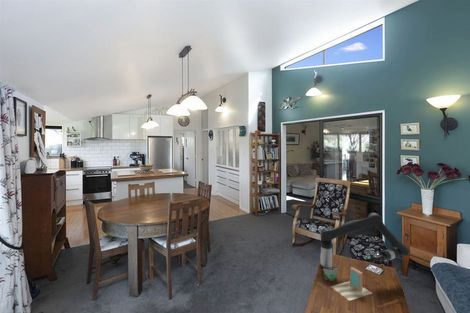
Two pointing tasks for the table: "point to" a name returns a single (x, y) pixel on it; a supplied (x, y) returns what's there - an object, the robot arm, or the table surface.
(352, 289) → the board
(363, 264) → the table surface
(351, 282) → the tile
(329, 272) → the food container
